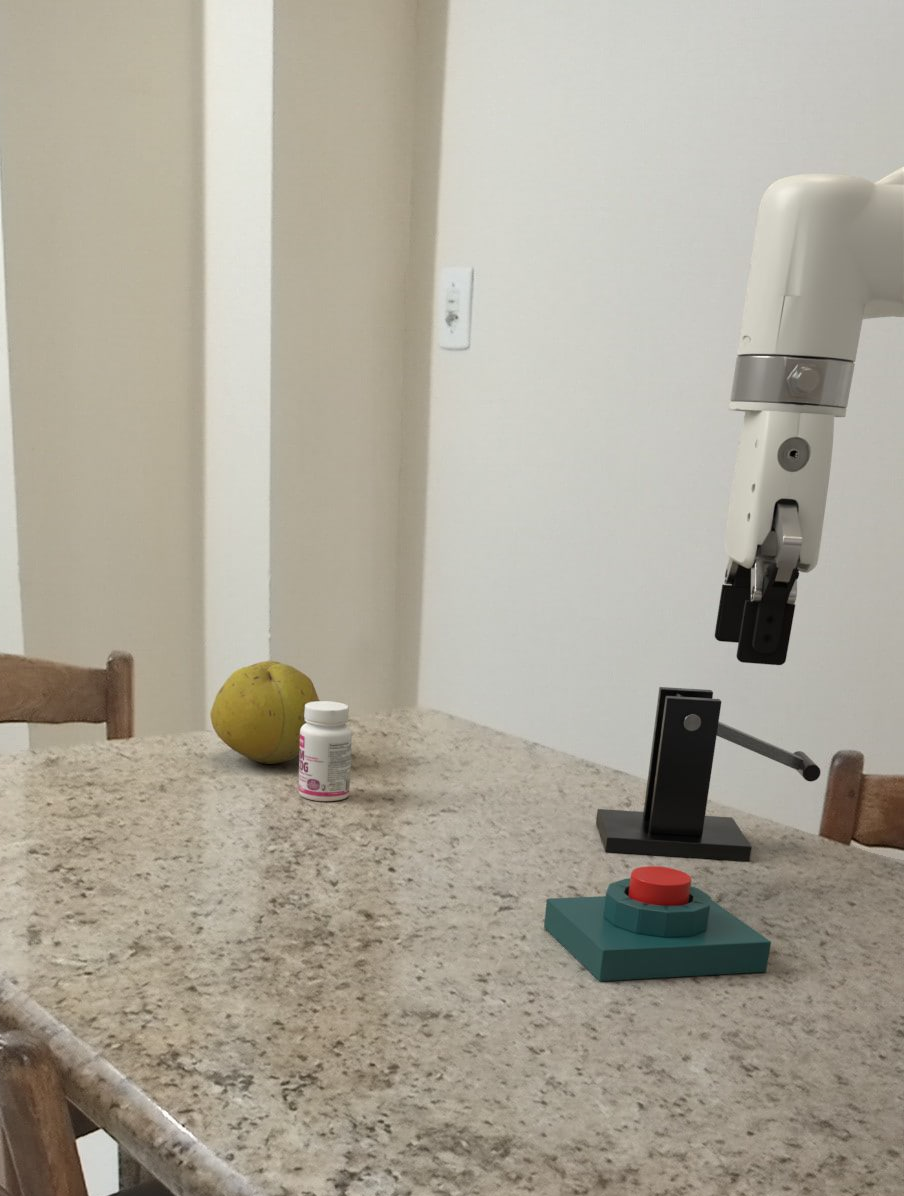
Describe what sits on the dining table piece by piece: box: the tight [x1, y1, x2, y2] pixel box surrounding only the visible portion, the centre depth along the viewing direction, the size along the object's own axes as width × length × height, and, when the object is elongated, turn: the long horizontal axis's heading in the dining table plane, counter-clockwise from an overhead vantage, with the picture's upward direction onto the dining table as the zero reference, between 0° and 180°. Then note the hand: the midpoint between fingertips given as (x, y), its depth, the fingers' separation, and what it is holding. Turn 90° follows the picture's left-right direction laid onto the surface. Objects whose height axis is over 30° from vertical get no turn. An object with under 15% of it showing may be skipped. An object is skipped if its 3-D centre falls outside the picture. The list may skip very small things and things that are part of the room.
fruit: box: [210, 660, 320, 765], centre depth 137 cm, size 11×12×10 cm
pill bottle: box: [297, 700, 353, 802], centre depth 126 cm, size 5×5×8 cm
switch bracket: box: [595, 686, 753, 862], centre depth 117 cm, size 12×9×13 cm
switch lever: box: [676, 694, 821, 782], centre depth 115 cm, size 13×5×2 cm, turn 86°
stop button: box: [628, 865, 692, 906], centre depth 93 cm, size 4×4×2 cm
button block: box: [543, 877, 772, 982], centre depth 94 cm, size 12×10×4 cm
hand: (747, 651), depth 97 cm, fingers open, 9 cm apart
